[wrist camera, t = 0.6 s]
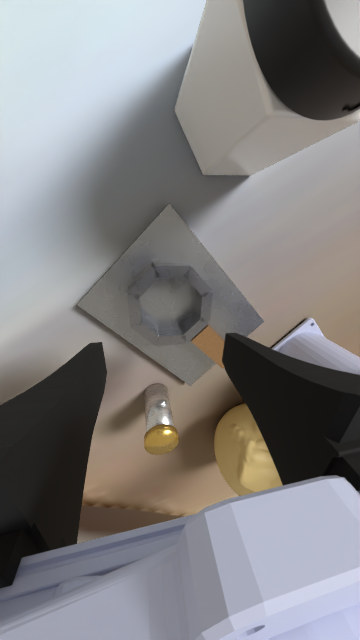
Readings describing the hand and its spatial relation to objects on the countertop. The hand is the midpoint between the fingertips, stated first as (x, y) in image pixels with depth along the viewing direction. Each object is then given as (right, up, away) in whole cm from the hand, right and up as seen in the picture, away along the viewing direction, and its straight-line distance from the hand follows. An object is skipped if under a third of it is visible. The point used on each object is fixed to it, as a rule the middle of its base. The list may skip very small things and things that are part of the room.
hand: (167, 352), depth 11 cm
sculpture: (+11, -14, +20) cm, 26 cm away
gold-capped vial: (-2, -8, +14) cm, 16 cm away
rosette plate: (+1, +3, +10) cm, 10 cm away
